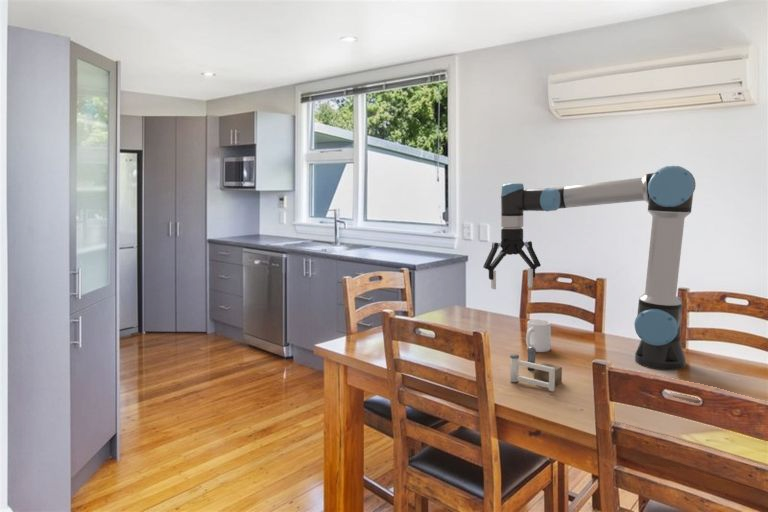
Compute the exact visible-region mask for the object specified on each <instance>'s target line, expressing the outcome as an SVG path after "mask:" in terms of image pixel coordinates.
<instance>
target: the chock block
mask: <svg viewBox="0 0 768 512" xmlns="http://www.w3.org/2000/svg"><path fill="white" fill-rule="evenodd" d="M540 365H544V366H549V367H553V368H555V387H556V386H557V385H559V384H561V383H562V381H563V380H562V379H563V378H562V375H563V373H562V372H563V366H560V365H556V364H552V363H551V364H550V363H545V362H543V363H541V364H540ZM533 379H536V380H540V381H544V382H548V383H549V372H547V371H542V370H538V369H534V370H533Z"/></svg>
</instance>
